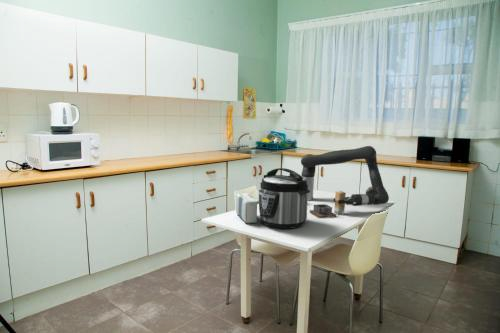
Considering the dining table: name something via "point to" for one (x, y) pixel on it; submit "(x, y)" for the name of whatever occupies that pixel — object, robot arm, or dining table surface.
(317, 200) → the dining table surface
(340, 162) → the robot arm
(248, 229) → the dining table surface
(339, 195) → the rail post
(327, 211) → the socket board
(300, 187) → the pressure cooker
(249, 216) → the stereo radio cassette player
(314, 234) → the dining table surface
